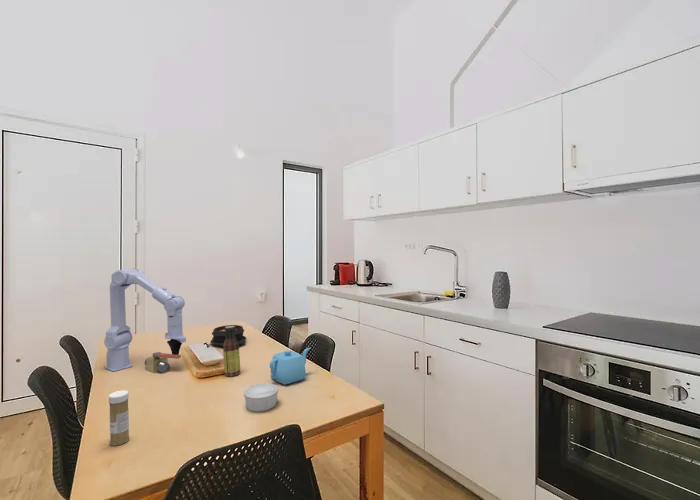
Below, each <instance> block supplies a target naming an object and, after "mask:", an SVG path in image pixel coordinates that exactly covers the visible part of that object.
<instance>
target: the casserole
mask: <svg viewBox="0 0 700 500" xmlns="http://www.w3.org/2000/svg"><path fill="white" fill-rule="evenodd" d="M226 326H235V337H236V339H237V342H238V345H239V346H240V345H242V344H245V343H246V340H247V336H245V335H244V332H245V329H244V328H243V326H242V325H238V324H230V325H229V324H228V325H227V324H226V325H221V326H217V327H215V328H214V329H213V331H212V333H211V335H212V336H213V337H212V339H211V340H210V341H209V343H210V344H212V345H216V346H222V347H223V343H224V341H225V338H226V337H225V336H226V334H225V327H226Z"/></svg>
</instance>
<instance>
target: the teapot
mask: <svg viewBox="0 0 700 500" xmlns="http://www.w3.org/2000/svg"><path fill="white" fill-rule="evenodd" d="M310 349H311V348H310V347H307V348H305V349H304V350H303V351H302V354H300V353H298V352H297V351H294V350H290V349H286V350H283V352H278V353H274V354H273V356H272V359H271V361H270V362H269V368H270V379H272V380H274V381H276V382H277V383H280V384H282V385H288V384H291V383H295V382H300V381H301V380H304V379H305V377H306V374H307V373H306V371H307V370H306V366H305V365H306V363H307V354H308V351H310Z"/></svg>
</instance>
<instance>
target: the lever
mask: <svg viewBox="0 0 700 500" xmlns="http://www.w3.org/2000/svg"><path fill="white" fill-rule="evenodd" d="M152 357H164V358H167V359H175V360H178V359H180V358H182V355H181V354H179V355H176V354H172V353H164V352H163V353H162V352H159V351H158V352H153V353H152Z"/></svg>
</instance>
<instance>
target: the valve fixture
mask: <svg viewBox="0 0 700 500" xmlns="http://www.w3.org/2000/svg"><path fill="white" fill-rule="evenodd" d="M168 359H169V358H164V357H153V356H150V357H146V359H145V360H144V366H145V367H146V371H148V372H150V373H152V374H157V373H163V374H165V373H168V372H169V371H170V368H171V365H170V363H168V362H169V361H168Z"/></svg>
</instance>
